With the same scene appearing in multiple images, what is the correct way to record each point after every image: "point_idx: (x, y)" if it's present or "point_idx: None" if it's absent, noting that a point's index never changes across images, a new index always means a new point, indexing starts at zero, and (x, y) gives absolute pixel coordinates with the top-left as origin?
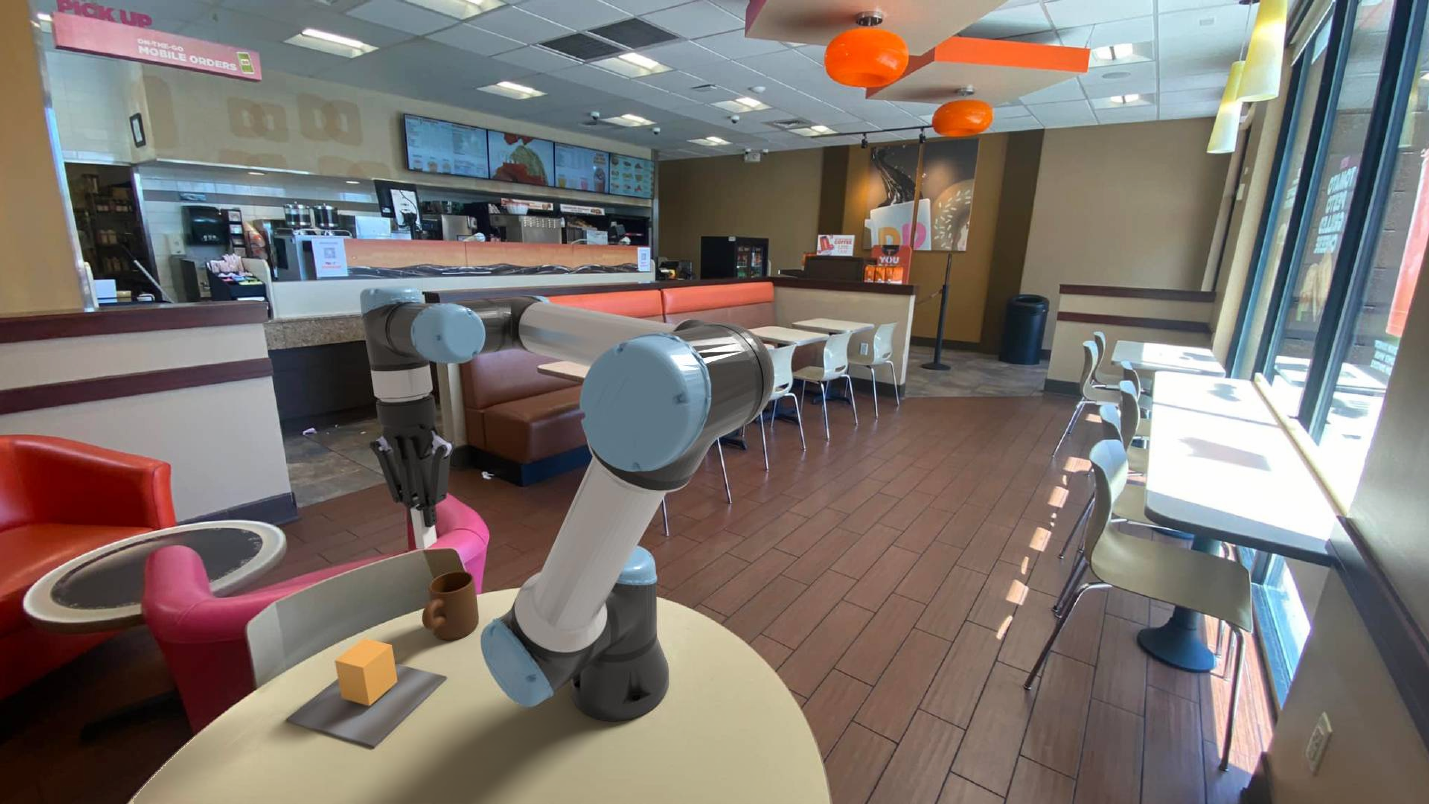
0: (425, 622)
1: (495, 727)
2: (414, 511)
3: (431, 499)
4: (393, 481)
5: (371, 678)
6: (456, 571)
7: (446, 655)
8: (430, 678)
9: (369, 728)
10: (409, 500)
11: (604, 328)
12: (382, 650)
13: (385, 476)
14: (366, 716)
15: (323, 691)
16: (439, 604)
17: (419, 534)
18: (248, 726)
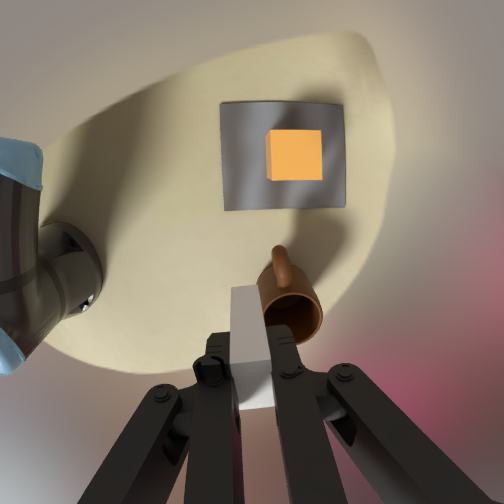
0: (276, 246)
1: (124, 174)
2: (253, 355)
3: (161, 403)
4: (375, 437)
5: (268, 141)
6: (303, 341)
7: (256, 242)
8: (240, 201)
9: (244, 118)
10: (279, 386)
11: None
12: (275, 166)
13: (424, 440)
14: (262, 129)
15: (342, 146)
16: (277, 278)
17: (242, 307)
18: (368, 93)
